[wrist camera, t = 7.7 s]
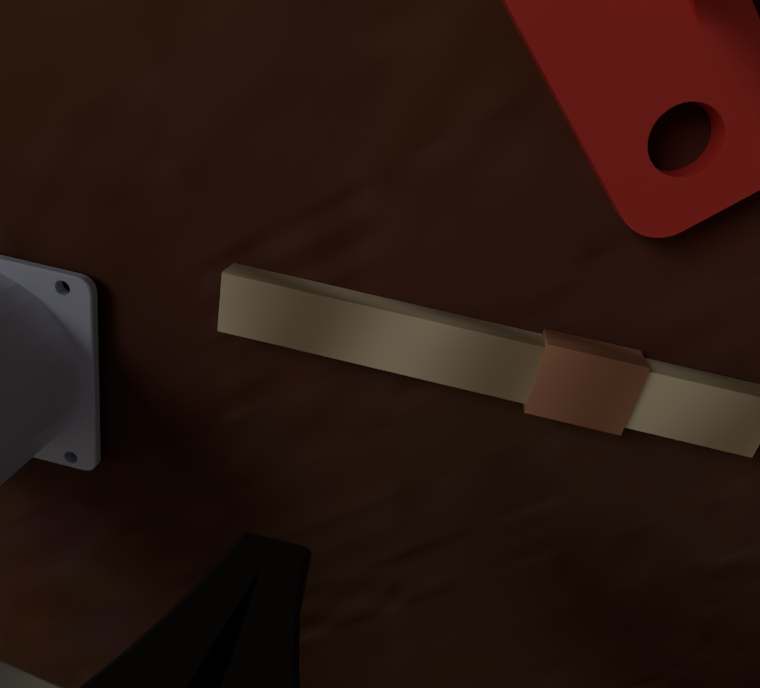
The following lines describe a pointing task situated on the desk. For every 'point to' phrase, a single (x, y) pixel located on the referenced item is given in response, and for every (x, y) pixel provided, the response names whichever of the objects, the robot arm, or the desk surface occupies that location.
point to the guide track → (495, 360)
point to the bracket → (653, 96)
